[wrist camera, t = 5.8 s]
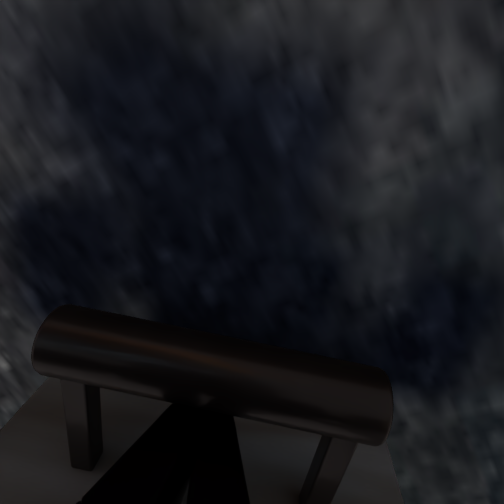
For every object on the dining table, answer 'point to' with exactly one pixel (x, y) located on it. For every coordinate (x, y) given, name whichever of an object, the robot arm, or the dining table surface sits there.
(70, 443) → the pull-out drawer
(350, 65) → the dining table surface
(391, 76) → the dining table surface
